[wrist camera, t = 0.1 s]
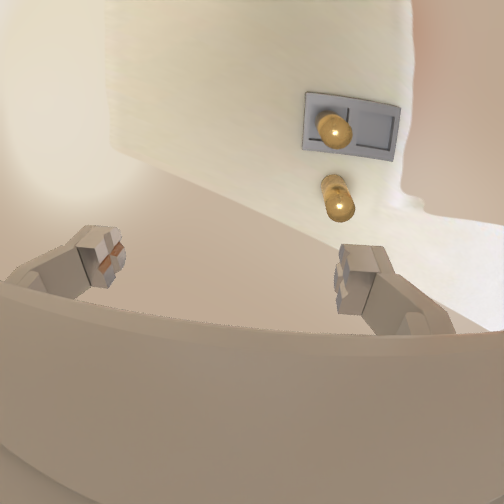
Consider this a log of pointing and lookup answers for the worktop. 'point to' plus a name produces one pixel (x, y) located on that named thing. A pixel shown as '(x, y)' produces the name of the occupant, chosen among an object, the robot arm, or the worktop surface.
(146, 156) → the worktop surface
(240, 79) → the worktop surface
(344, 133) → the seated billet
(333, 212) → the cylinder
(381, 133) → the grey divided frame
